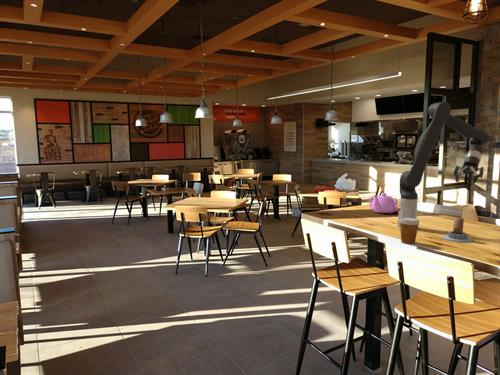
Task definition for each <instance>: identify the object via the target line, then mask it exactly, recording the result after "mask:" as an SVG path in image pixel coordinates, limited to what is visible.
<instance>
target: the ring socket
mask: <svg viewBox="0 0 500 375" xmlns="http://www.w3.org/2000/svg"><path fill="white" fill-rule="evenodd" d="M441 238H442V240H445V241H449V242H454V243H463V244H464V243H472V242H473V241H474V239H473V238H472V237H470V236H468V233H467V232H464V231H463V235H460V234H453V230H450V231H449V230H448V233H447V234H443V235H442V237H441Z"/></svg>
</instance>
